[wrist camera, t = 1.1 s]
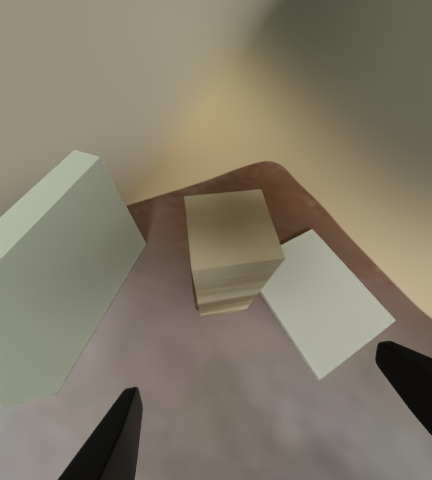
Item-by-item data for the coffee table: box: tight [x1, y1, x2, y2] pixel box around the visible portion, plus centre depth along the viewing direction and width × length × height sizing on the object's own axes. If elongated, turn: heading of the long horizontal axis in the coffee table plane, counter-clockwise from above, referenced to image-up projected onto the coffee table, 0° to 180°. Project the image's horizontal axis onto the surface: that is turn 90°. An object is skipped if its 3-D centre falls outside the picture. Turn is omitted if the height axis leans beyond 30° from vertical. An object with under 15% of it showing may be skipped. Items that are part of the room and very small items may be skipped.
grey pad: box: [260, 229, 396, 380], centre depth 22 cm, size 12×10×1 cm
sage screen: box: [0, 150, 146, 407], centre depth 15 cm, size 2×15×12 cm, turn 161°
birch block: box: [184, 189, 285, 318], centre depth 16 cm, size 4×5×12 cm
